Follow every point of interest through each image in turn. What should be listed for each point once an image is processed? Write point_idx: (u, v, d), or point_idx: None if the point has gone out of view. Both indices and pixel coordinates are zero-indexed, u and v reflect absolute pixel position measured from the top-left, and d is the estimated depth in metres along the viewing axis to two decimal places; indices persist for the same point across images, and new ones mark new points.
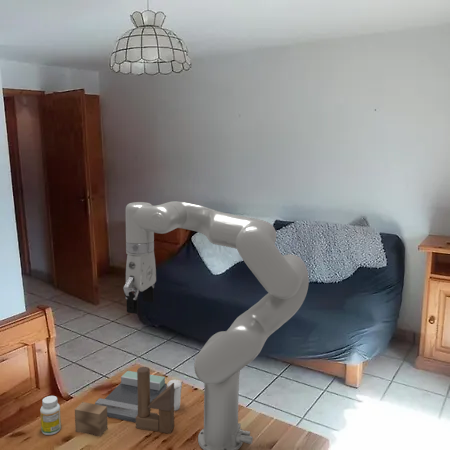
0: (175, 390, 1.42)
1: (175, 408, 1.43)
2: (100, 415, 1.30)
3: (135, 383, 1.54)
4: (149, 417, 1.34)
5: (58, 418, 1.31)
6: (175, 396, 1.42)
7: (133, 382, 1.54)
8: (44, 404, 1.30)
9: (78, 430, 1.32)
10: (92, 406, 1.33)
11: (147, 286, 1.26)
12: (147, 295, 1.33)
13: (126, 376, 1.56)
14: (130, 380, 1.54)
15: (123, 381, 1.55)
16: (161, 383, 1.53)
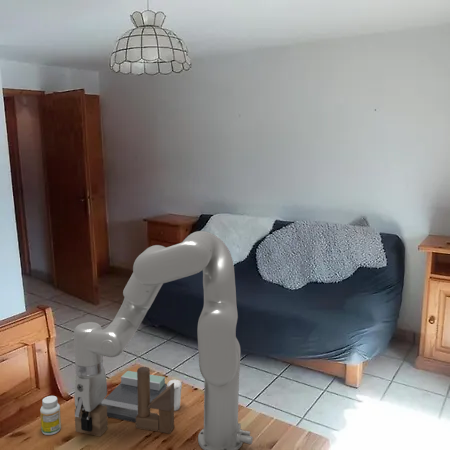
0: (175, 390, 1.42)
1: (175, 408, 1.43)
2: (100, 415, 1.29)
3: (135, 383, 1.54)
4: (149, 417, 1.34)
5: (58, 418, 1.31)
6: (175, 396, 1.42)
7: (133, 382, 1.54)
8: (44, 404, 1.30)
9: (78, 430, 1.32)
10: None
11: (96, 405, 1.29)
12: None
13: (126, 376, 1.56)
14: (130, 380, 1.54)
15: (123, 381, 1.55)
16: (161, 383, 1.53)
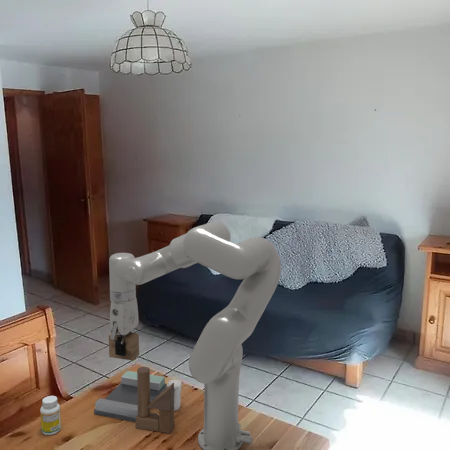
0: (175, 390, 1.42)
1: (175, 408, 1.43)
2: (133, 340, 1.38)
3: (135, 383, 1.54)
4: (149, 417, 1.34)
5: (58, 418, 1.31)
6: (175, 396, 1.42)
7: (133, 382, 1.54)
8: (44, 404, 1.30)
9: (112, 355, 1.40)
10: None
11: (129, 330, 1.37)
12: None
13: (126, 376, 1.56)
14: (130, 380, 1.54)
15: (123, 381, 1.55)
16: (161, 383, 1.53)
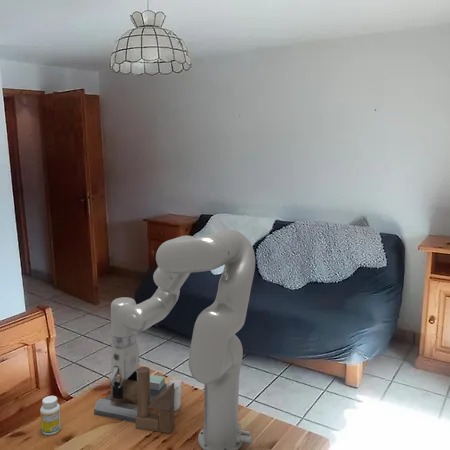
0: (175, 390, 1.42)
1: (175, 408, 1.43)
2: (134, 389, 1.40)
3: None
4: (149, 417, 1.34)
5: (58, 418, 1.31)
6: (175, 396, 1.42)
7: None
8: (44, 404, 1.30)
9: None
10: (126, 381, 1.44)
11: (130, 373, 1.40)
12: (131, 378, 1.47)
13: None
14: None
15: None
16: (161, 383, 1.53)
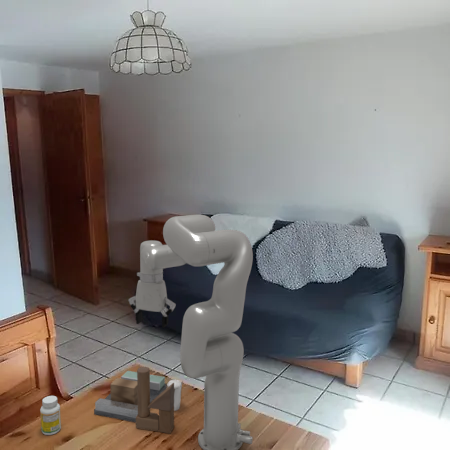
0: (175, 390, 1.42)
1: (175, 408, 1.43)
2: (134, 389, 1.40)
3: None
4: (149, 417, 1.34)
5: (58, 418, 1.31)
6: (175, 396, 1.42)
7: None
8: (44, 404, 1.30)
9: None
10: (126, 381, 1.44)
11: (144, 308, 1.57)
12: None
13: (126, 376, 1.56)
14: None
15: None
16: (161, 383, 1.53)
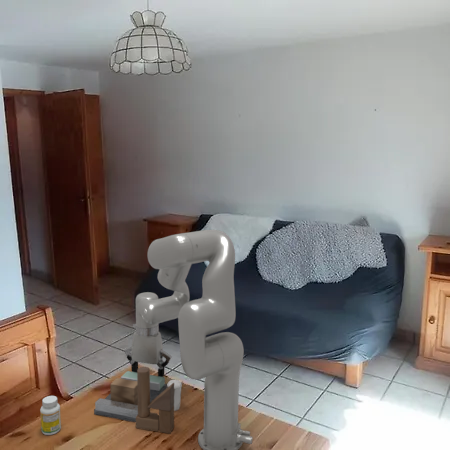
0: (175, 390, 1.42)
1: (175, 408, 1.43)
2: (134, 389, 1.40)
3: None
4: (149, 417, 1.34)
5: (58, 418, 1.31)
6: (175, 396, 1.42)
7: None
8: (44, 404, 1.30)
9: None
10: (126, 381, 1.44)
11: (139, 360, 1.56)
12: None
13: (126, 376, 1.55)
14: None
15: None
16: (161, 384, 1.53)
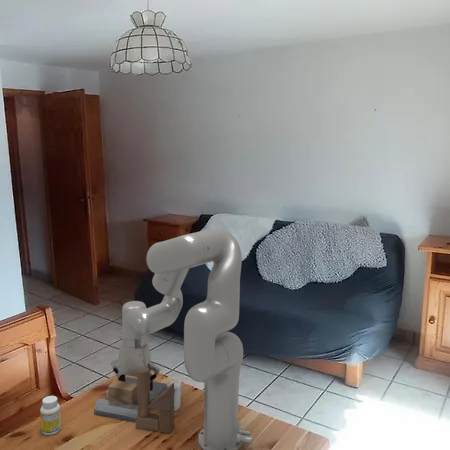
0: (175, 390, 1.42)
1: (175, 408, 1.43)
2: (132, 391, 1.39)
3: None
4: (149, 417, 1.34)
5: (58, 418, 1.31)
6: (175, 396, 1.42)
7: None
8: (44, 404, 1.30)
9: None
10: (123, 383, 1.42)
11: (126, 373, 1.47)
12: None
13: None
14: None
15: None
16: None
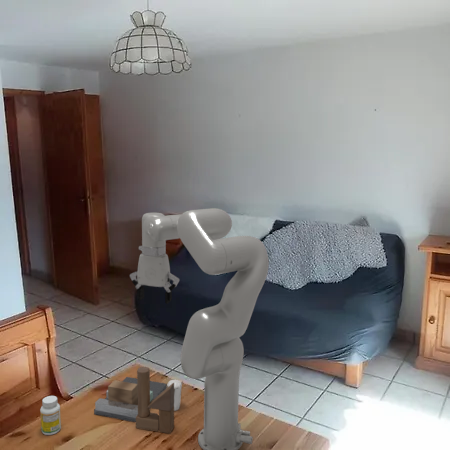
0: (175, 390, 1.42)
1: (175, 408, 1.43)
2: (132, 391, 1.39)
3: None
4: (149, 417, 1.34)
5: (58, 418, 1.31)
6: (175, 396, 1.42)
7: None
8: (44, 404, 1.30)
9: None
10: (123, 383, 1.42)
11: (146, 283, 1.50)
12: None
13: None
14: None
15: None
16: None
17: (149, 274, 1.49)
